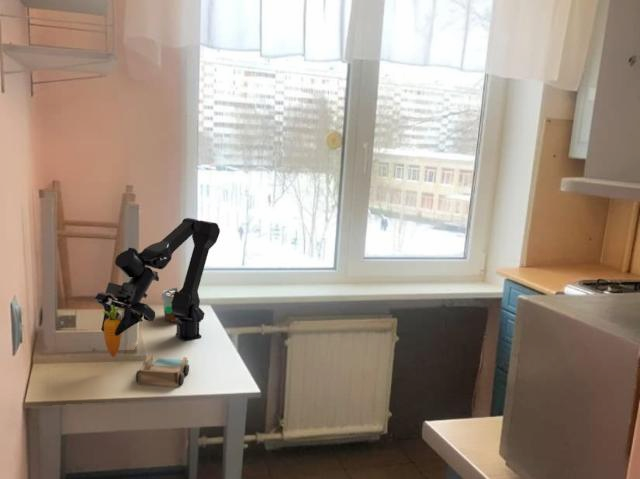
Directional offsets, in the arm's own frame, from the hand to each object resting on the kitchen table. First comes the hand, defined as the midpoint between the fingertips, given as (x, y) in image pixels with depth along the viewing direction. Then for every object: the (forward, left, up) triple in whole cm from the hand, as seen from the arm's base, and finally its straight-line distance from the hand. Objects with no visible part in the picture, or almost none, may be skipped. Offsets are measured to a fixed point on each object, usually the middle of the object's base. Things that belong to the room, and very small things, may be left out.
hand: (109, 333), depth 165 cm
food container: (-33, -32, -12) cm, 47 cm away
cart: (-13, +8, -12) cm, 19 cm away
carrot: (-1, -1, -8) cm, 8 cm away
